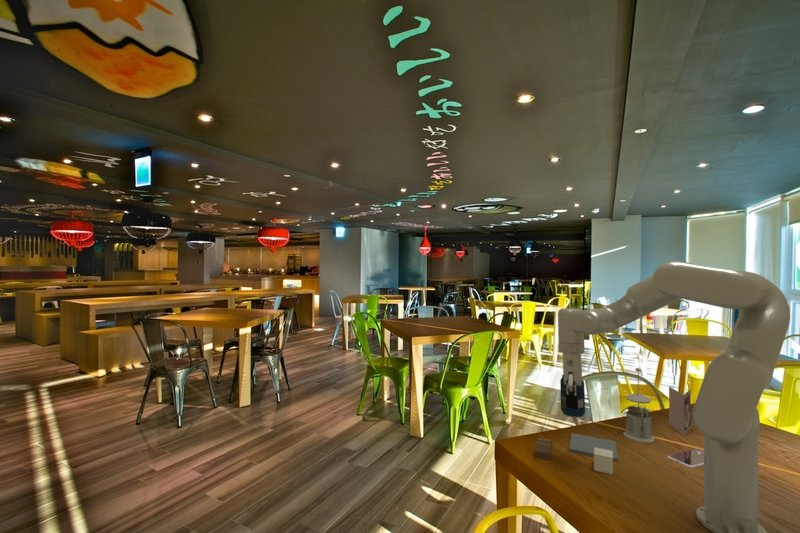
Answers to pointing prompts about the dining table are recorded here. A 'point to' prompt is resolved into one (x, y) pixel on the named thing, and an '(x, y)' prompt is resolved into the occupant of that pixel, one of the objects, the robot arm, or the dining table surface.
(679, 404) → the greeting card
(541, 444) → the walnut block
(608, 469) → the off-white block
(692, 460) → the mobile phone
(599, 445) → the mat
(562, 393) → the soda can
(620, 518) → the dining table surface
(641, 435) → the french press
